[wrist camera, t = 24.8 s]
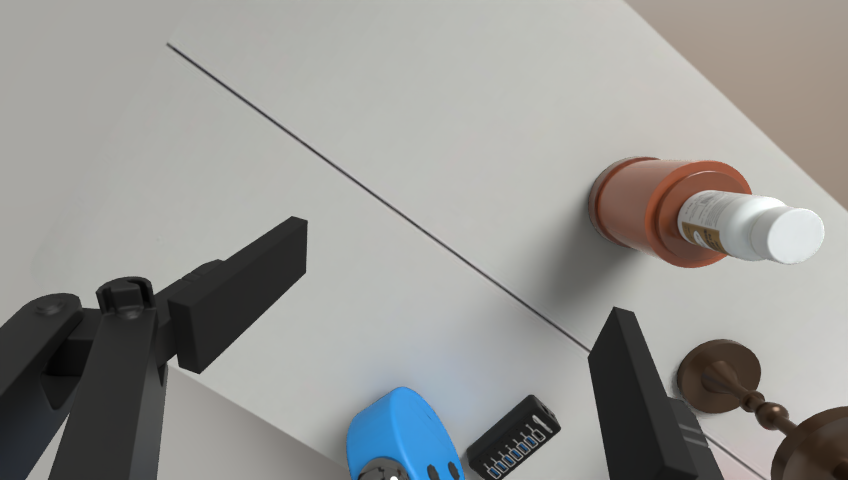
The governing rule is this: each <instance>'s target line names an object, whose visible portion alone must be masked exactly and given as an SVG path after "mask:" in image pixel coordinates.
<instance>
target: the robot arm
mask: <svg viewBox="0 0 848 480" xmlns="http://www.w3.org/2000/svg"><path fill="white" fill-rule="evenodd" d="M307 224H308V220H304V219H300V218H297V217H293V216H291V217H290V218H288V219H287V220H285V221H284V222H282V223H281V224H279V225H278V226H276V227H275V228H273V229H272V230H270V231H269V232H267V233H266V234H264V235H263V236H261V237H260V238H258V239H257V240H255V241H254V242H252V243H251V244H249V245H248V246H246V247H245V248H243V249H242V250H240V251H239V252H237V253H236V254H234V255H233V256H231V257H230V258H228V259H227V260H225V261H222V260H219V259H217V260H214V261H211V262H208V263H205V264H203V265H201V266H199V267H198V268H196V269H195V270H193V271H192V272H191V273H188V274H187V275H185V276H184V277H182V279H179V280H177V281H176V282H174V283H173V284H171V285H169V286H168V287H166V288H165V289H163V290H161V291H160V292H158V293H157V294H155V295H154V294H153V289H152V285H151V282H150V281H149V280H147V279H146V278H142V277H123V278H118V279H115V280H112V281H109V282H107V283H105V284H104V285H102V286H100V287H99V289H98V290H97V291H96V296H97V299H98V303H99V306H100V309H91V308H82V305H81V302H80V299H79V297H78V296H76V295H74V294H68V293H58V294H50V295H46V296H42V297H40V298H37V299H35V300H32V301H30V302H29V303H27V304H26V305H24V306H23V307H22V308H21V309H20V310H19V311H18V312H16V313H15V314H14V315H13V316H12V317H11V318H10V319H9V320H8V321H7V322H6V323H5V324H4V325H3V326H2V327H1V328H0V480H25V479H26V478H27V476H28V475H29V473H30V472H31V470H32V469H33V467H34V466H35V464H36V463H37V461H38V460H39V458H40V457H41V455H42V454H43V452H44V451H45V449H46V447H47V446H48V445H49V443H50V442H51V440H52V438H53V437H54V436H55V434H56V433H57V431H58V429H59V428H60V426H61V425H62V423H63V422H64V420H65V419H66V417H67V415H68V414H69V413H70V414H69V417H68V420H67V423H66V426H65V429H64V432H63V436H62V438H61V442H60V445H59V448H58V451H57V454H56V457H55V460H54V463H53V466H52V469H51V472H50V475H49V478H48V480H157V471H158V462H159V461H158V460H159V452H160V442H161V433H162V424H163V414H164V405H165V395H166V386H167V385H166V384H167V376H168V365H167V361H168V360H170V359H171V358H172V357H173V356H174V355H176V354H177V358H178V364H179V367H181V368H183V369H186V370H189V371H192V372H195V373H197V374H200V373H201V372H202V371H204V370H205V369H206V368H207V367H208V366H209V365H210V364H211V363H212V362H213V361H214V360H215V359H216V358H217V357H218V356H219V355H220V354H221V353H222V352H223V351H224V350H225V349H227V348H228V347H229V346H230V345H231V344H232V343H233V342H234V341H235V340H236V339H237V338H238V337H239V336H240V335H241V334H242V333H243V332H244V331H245V330H246V329H247V328H248V327H250V326H251V325H252V324H253V323H254V322H255V321H256V320H257V319H258V318H259V317H260V316H261V315H262V314H263V313H264V312H265V311H266V310H267V309H268V308H269V307H270V306H272V305H273V304H274V303H275V302H276V301H277V300H278V299H279V298H280V297H281V296H282V295H283V294H284V293H285V292H286V291H287V290H288V289H289V288H290V287H291V286H292V285H293V284H295V283H296V282H297V281H298V280H299V279H300V278H301V277H302V276H303V275H304V274H305V273H306V256H307ZM588 362H589V368H590V373H591V379H592V384H593V390H594V395H595V400H596V406H597V411H598V417H599V422H600V428H601V433H602V439H603V444H604V449H605V455H606V460H607V466H608V471H609V477H610V480H724V478H723V476H722V474H721V471H720V469H719V467H718V465H717V463H716V460H715V458H714V456H713V454H712V452H711V449H710V448H708V443H707V441H706V438H705V436H704V435H702V433H703V432H702V429H701V427H700V425H699V423H698V421H697V418H696V417H695V415H694V414H693V413H692V412H691V411H690V409H689V408H688V407H687V406H686V405H685V403H684V402H683V401H680V400H677V399H673V398H670V397H667V394H666V392H665V389H664V387H663V384H662V382H661V379H660V377H659V374H658V372H657V369H656V367H655V364H654V362H653V359H652V357H651V354H650V351H649V349H648V346H647V344H646V341H645V339H644V336H643V334H642V331H641V329H640V326H639V324H638V321H637V319H636V316H635V314H634V312H632V311H628V310H624V309H621V308H617V307H613V309H612V311H611V313H610V315H609V317H608V319H607V321H606V322H605V324H604V326H603V328H602V330H601V332H600V334H599V336H598V338H597V340H596V342H595V344H594V346H593V348H592V350H591V352H590V354H589V356H588Z"/></svg>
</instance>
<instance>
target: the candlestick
mask: <svg viewBox="0 0 848 480" xmlns="http://www.w3.org/2000/svg"><path fill="white" fill-rule="evenodd" d="M760 377H761V368H760V364H759V361H758V359H757V357H756V356H755V354H754V353H753V352H752V351H751V350H749V349H748V348H746V347H744V346H743V345H741V344H739V343H738V342H735V341H732V340H725V339H720V340H713V341H708V342H706V343H703V344H701V345H699V346H698V347H696V348H695V349H693V350H692V351H691V352H690V353H689V354H688V355H687V356H686V357H685V359H684V360H683V362H682V364H681V365H680V368H679V371H678V376H677V383H678V388H679V391H680V393H681V394H682V396H683V397H684V399H686V400H687V401H688V402H689V403H690V404H691V405H692V406H693V407H695V408H696V409H698V410H700V411H703V412H706V413H724V412H728V411H731V410H733V409H736V408H737V407H739V406H740V407H741V408H742V409H743V410H745V411H746V412H750V413H751V412H754V413H755V416H756V419H757V421H758V423H759V424H760V425H761V426H762V427H763V428H765V429H768V430H780V431H781V432H782V433H784V434H785V435H786V438H785V439H784V440H783V441H782V443H781V444H780V446H779V448H778V449H777V451H776V454H775V456H774V459H773V461H772V467H771V480H848V406H845V407H837V408H833V409H829V410H826V411H823V412H820V413H818V414H815V415H813V416H812V417H810V418H808V419H807V420H805V421H803V422H802V423H800V424H799V425H798V426H797V425H795V424H794V423H793V422H791V421H790V420H789V413H788V411H787V410H786V408H785V407H783V406H782V405H780V404H776V403H772V402H765V398H764V396H763V395H762V394H761V393H760V392H758V391H756V389H757V387H758V384H759V382H760Z"/></svg>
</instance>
